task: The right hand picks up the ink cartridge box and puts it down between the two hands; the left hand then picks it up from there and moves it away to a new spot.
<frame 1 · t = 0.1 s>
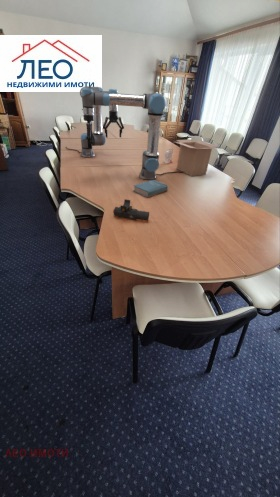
left hand: (113, 137, 206), 28 cm above the table, tool pointing down, fingers open, 13 cm apart
right hand: (90, 146, 173), 28 cm above the table, tool pointing down, fingers open, 13 cm apart
laser sight: (130, 218, 141), on the table
ink cartridge box: (167, 162, 251), on the table
box: (190, 171, 228), on the table
book: (150, 191, 179), on the table
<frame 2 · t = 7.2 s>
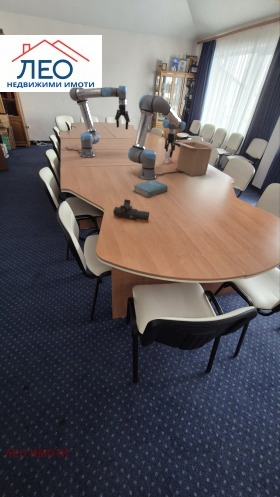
left hand: (122, 128, 235), 30 cm above the table, tool pointing down, fingers open, 13 cm apart
right hand: (168, 156, 247), 7 cm above the table, tool pointing down, fingers closed on ink cartridge box, 5 cm apart
ink cartridge box: (167, 162, 251), on the table, touching right hand
everything else where it was.
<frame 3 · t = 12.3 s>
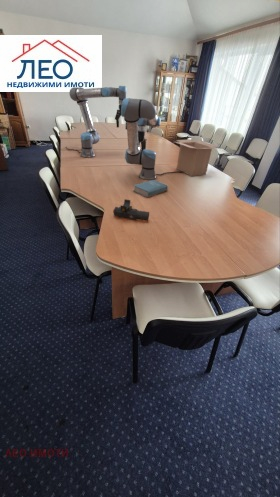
left hand: (122, 128, 235), 30 cm above the table, tool pointing down, fingers open, 13 cm apart
right hand: (139, 156, 224), 11 cm above the table, tool pointing down, fingers closed on ink cartridge box, 5 cm apart
ink cartridge box: (139, 163, 228), point 4 cm above the table, touching right hand
everything else where it was.
when the right hand's fingers open (8 cm above the table, at t = 17.5 s): ink cartridge box drops 1 cm, on the table.
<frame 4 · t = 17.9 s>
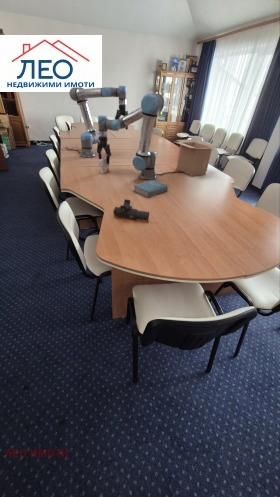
left hand: (122, 128, 235), 30 cm above the table, tool pointing down, fingers open, 13 cm apart
right hand: (104, 162, 205), 9 cm above the table, tool pointing down, fingers open, 10 cm apart
ink cartridge box: (104, 172, 211), on the table
everything else where it was.
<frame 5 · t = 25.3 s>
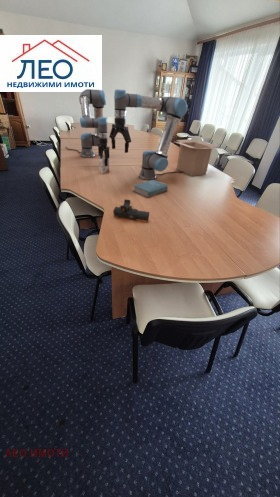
left hand: (104, 165, 207), 7 cm above the table, tool pointing down, fingers closed on ink cartridge box, 5 cm apart
right hand: (119, 150, 163), 29 cm above the table, tool pointing down, fingers open, 13 cm apart
ink cartridge box: (104, 171, 211), on the table, touching left hand
everything else where it was.
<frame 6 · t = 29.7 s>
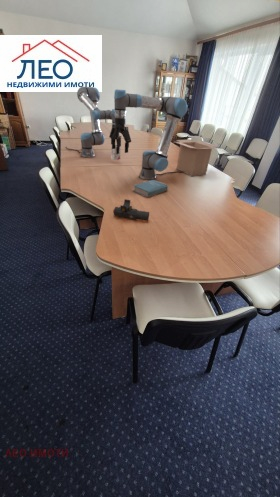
left hand: (115, 152, 230), 11 cm above the table, tool pointing down, fingers closed on ink cartridge box, 5 cm apart
right hand: (119, 150, 163), 29 cm above the table, tool pointing down, fingers open, 13 cm apart
ink cartridge box: (115, 159, 234), point 4 cm above the table, touching left hand
everything else where it was.
when the left hand's fingers open (8 cm above the table, at t = 34.0 s): ink cartridge box drops 1 cm, on the table.
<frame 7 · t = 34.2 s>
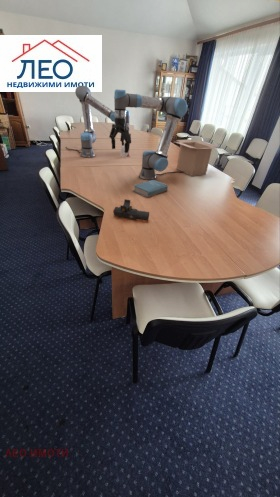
left hand: (125, 148, 256), 8 cm above the table, tool pointing down, fingers open, 8 cm apart
right hand: (119, 150, 163), 29 cm above the table, tool pointing down, fingers open, 13 cm apart
ink cartridge box: (125, 156, 261), on the table
everything else where it was.
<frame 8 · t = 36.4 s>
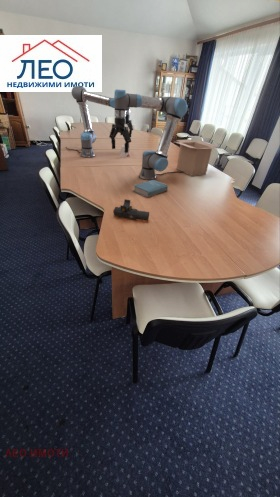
left hand: (125, 136, 248), 22 cm above the table, tool pointing down, fingers open, 13 cm apart
right hand: (119, 150, 163), 29 cm above the table, tool pointing down, fingers open, 13 cm apart
nothing on the table moved.
at the end: ink cartridge box inside the target area (0.0 cm from its centre), on the table; ink cartridge box tilted 0°; the two hands never held the ink cartridge box at the same time; the left hand is holding nothing; the right hand is holding nothing; ink cartridge box at rest at the end (0.0 cm/s) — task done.
